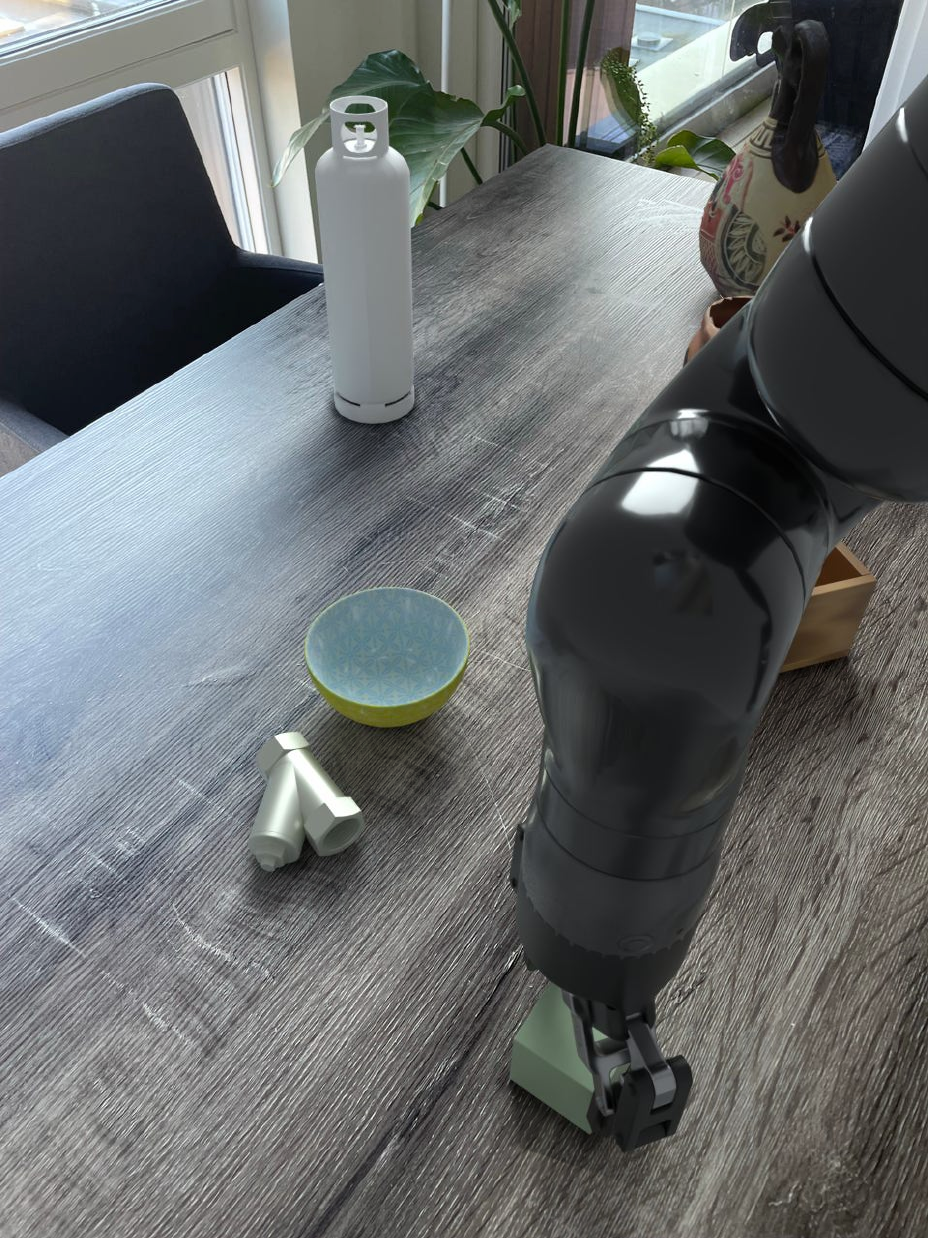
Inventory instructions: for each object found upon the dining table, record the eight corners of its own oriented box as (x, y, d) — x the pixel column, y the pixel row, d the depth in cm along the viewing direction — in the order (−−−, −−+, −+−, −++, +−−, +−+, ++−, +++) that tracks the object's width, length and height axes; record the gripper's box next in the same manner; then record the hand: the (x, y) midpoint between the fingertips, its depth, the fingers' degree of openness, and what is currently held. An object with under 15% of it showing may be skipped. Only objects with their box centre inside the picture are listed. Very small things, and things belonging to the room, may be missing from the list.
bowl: (294, 754, 69) (284, 695, 65) (332, 637, 77) (325, 578, 73) (456, 774, 68) (457, 715, 64) (478, 653, 76) (479, 594, 72)
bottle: (332, 423, 98) (305, 121, 79) (336, 380, 104) (312, 88, 85) (414, 423, 99) (407, 121, 79) (414, 380, 104) (408, 89, 85)
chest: (768, 561, 84) (791, 486, 79) (847, 656, 77) (878, 580, 71) (622, 594, 81) (635, 518, 76) (688, 696, 73) (708, 620, 68)
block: (635, 1055, 55) (648, 1015, 51) (590, 1135, 52) (600, 1098, 48) (556, 1004, 57) (563, 962, 53) (508, 1078, 54) (513, 1039, 50)
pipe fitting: (276, 896, 62) (367, 836, 64) (263, 864, 59) (360, 803, 61) (217, 808, 66) (305, 756, 69) (203, 774, 63) (295, 721, 66)
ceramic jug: (680, 269, 124) (728, -9, 103) (805, 273, 124) (878, -5, 103) (697, 337, 112) (756, 36, 91) (836, 341, 112) (926, 41, 91)
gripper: (791, 1001, 36) (705, 1154, 47) (624, 713, 46) (585, 897, 57) (602, 1066, 34) (559, 1209, 46) (469, 752, 44) (461, 934, 55)
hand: (574, 1035), depth 51 cm, fingers open, 8 cm apart
